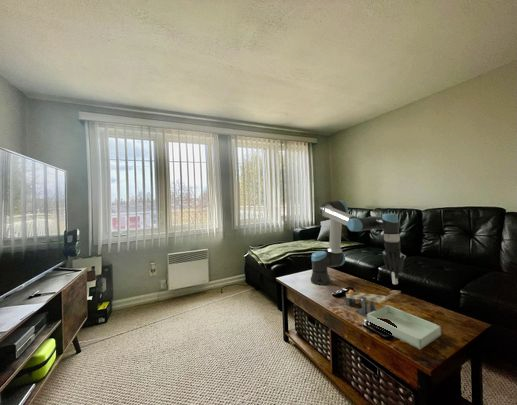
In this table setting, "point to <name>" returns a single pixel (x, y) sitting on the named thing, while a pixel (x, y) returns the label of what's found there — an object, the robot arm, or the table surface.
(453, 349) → the table surface
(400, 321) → the tray
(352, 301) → the stand
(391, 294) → the lever
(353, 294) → the ball
